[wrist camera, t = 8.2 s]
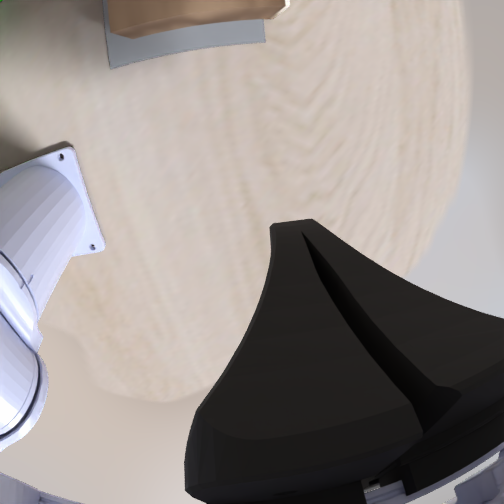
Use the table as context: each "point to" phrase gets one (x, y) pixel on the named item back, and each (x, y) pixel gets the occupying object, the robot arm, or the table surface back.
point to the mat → (180, 39)
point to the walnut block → (184, 14)
